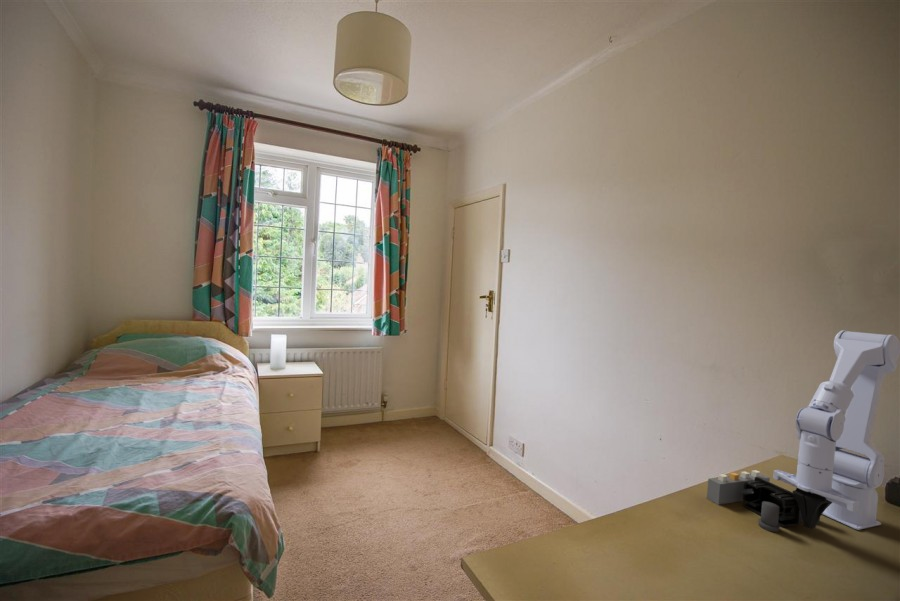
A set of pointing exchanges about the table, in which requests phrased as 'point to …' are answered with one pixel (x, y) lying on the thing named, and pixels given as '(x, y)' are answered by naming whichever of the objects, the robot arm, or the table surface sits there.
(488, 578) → the table surface
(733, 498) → the breaker strip
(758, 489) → the end cap
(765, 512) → the gray rounded knob
